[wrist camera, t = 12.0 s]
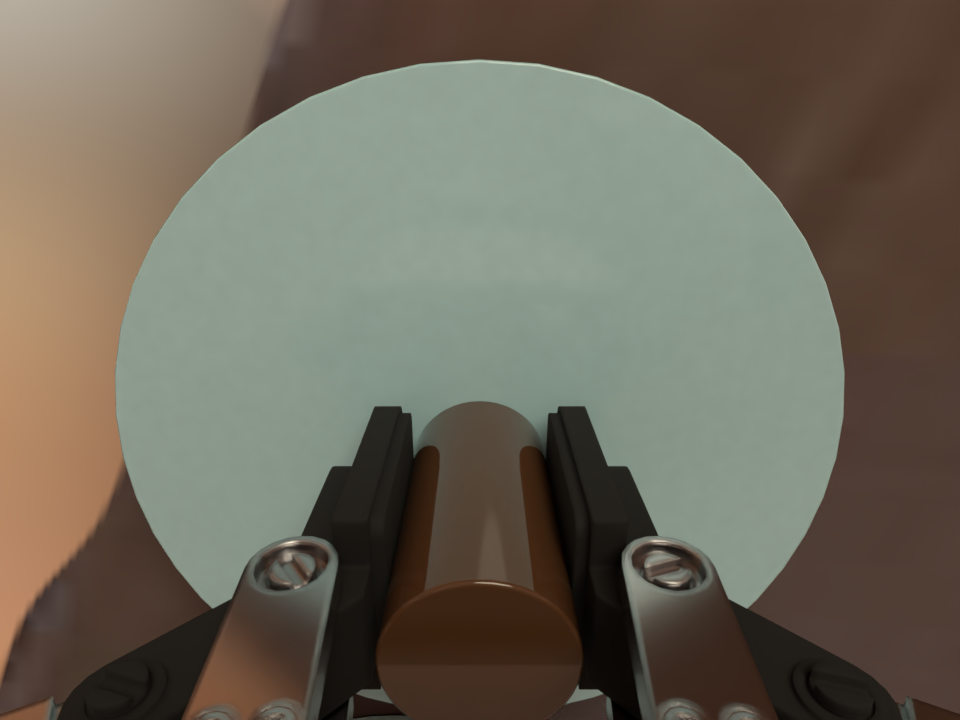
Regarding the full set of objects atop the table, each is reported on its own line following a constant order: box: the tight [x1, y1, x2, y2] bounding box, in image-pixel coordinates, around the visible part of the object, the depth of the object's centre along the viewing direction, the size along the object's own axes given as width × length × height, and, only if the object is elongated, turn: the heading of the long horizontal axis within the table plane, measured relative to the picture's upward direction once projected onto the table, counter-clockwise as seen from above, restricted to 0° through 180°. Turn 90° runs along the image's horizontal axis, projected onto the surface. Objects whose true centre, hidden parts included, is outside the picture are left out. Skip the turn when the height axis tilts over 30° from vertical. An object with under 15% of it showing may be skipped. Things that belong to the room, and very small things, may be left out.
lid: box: [115, 59, 844, 720], centre depth 11 cm, size 16×16×7 cm
